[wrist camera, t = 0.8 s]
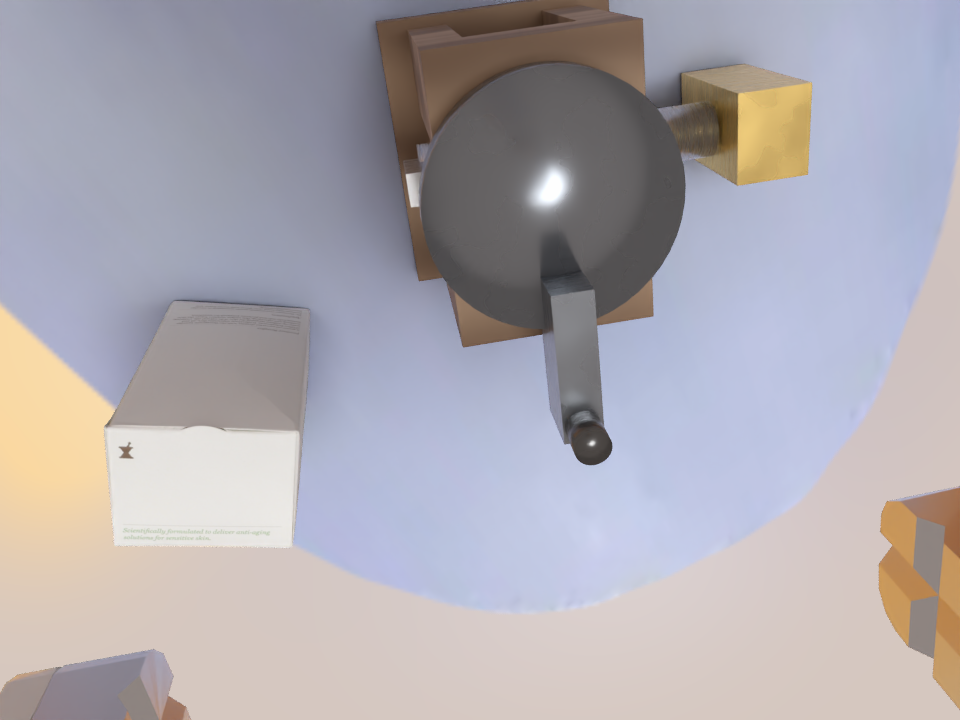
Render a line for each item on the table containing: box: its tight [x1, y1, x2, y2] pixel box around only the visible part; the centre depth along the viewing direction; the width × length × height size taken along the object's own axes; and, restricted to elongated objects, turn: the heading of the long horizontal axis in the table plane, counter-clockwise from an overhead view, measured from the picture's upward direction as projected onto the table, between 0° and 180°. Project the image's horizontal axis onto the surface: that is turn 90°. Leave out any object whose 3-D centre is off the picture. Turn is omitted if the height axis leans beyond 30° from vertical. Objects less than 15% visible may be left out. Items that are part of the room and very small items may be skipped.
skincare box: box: [104, 301, 310, 548], centre depth 44 cm, size 8×7×16 cm
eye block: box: [376, 0, 653, 347], centre depth 42 cm, size 14×12×12 cm
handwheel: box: [419, 61, 685, 465], centre depth 35 cm, size 16×11×6 cm
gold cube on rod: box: [403, 64, 812, 208], centre depth 44 cm, size 4×20×8 cm, turn 97°
